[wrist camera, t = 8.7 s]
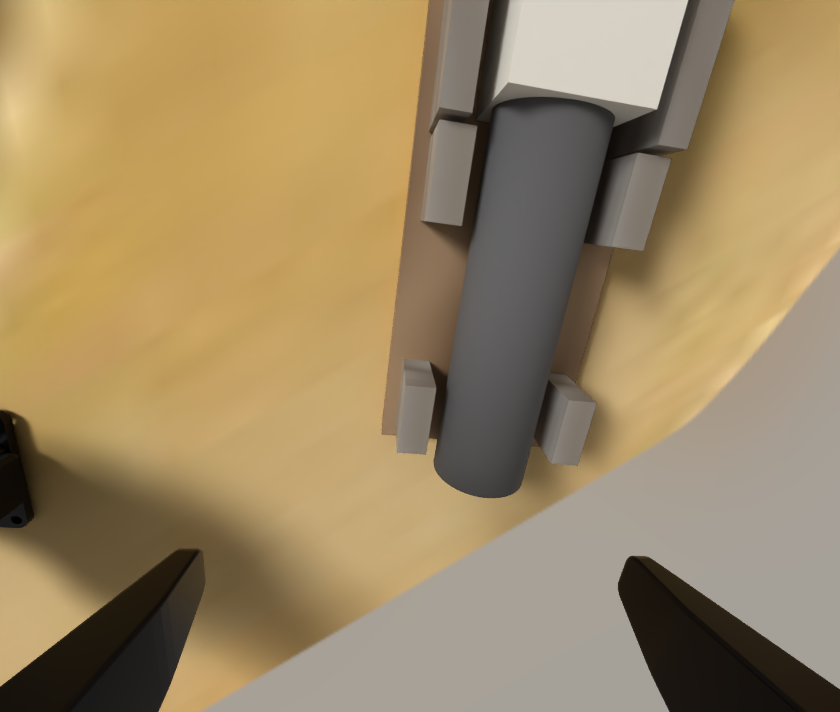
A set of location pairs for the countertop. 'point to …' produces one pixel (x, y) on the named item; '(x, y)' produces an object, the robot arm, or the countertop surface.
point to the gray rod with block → (538, 210)
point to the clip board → (456, 203)
